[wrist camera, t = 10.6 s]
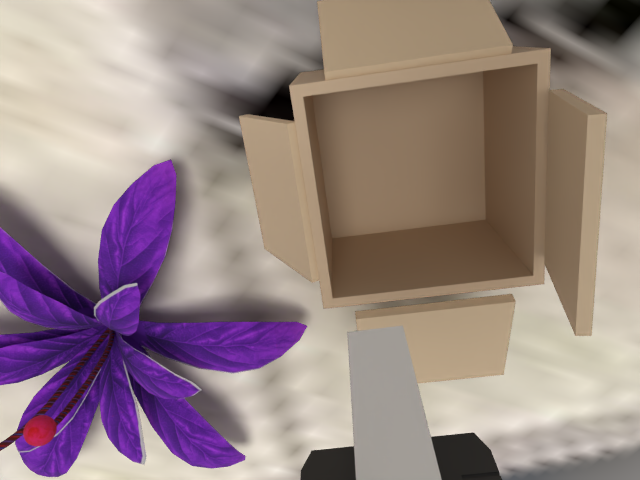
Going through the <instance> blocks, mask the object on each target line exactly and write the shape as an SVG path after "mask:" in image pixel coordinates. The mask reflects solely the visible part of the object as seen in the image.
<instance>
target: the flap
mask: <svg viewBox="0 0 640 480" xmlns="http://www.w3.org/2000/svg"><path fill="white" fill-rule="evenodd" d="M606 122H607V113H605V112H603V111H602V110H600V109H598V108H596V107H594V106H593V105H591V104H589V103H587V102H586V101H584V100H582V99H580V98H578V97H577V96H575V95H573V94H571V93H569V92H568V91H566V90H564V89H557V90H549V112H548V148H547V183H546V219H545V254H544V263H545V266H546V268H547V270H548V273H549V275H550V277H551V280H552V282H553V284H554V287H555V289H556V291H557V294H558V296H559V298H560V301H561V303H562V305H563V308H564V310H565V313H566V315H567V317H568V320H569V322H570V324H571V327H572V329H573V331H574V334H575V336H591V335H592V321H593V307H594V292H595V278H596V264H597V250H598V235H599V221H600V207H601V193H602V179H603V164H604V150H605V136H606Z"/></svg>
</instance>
